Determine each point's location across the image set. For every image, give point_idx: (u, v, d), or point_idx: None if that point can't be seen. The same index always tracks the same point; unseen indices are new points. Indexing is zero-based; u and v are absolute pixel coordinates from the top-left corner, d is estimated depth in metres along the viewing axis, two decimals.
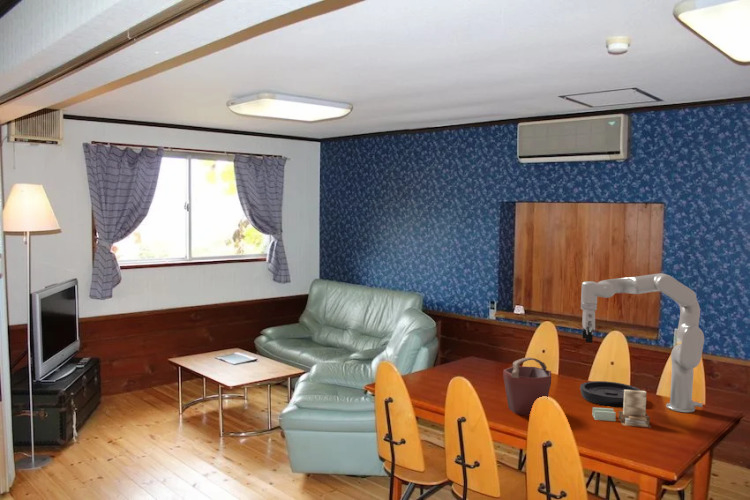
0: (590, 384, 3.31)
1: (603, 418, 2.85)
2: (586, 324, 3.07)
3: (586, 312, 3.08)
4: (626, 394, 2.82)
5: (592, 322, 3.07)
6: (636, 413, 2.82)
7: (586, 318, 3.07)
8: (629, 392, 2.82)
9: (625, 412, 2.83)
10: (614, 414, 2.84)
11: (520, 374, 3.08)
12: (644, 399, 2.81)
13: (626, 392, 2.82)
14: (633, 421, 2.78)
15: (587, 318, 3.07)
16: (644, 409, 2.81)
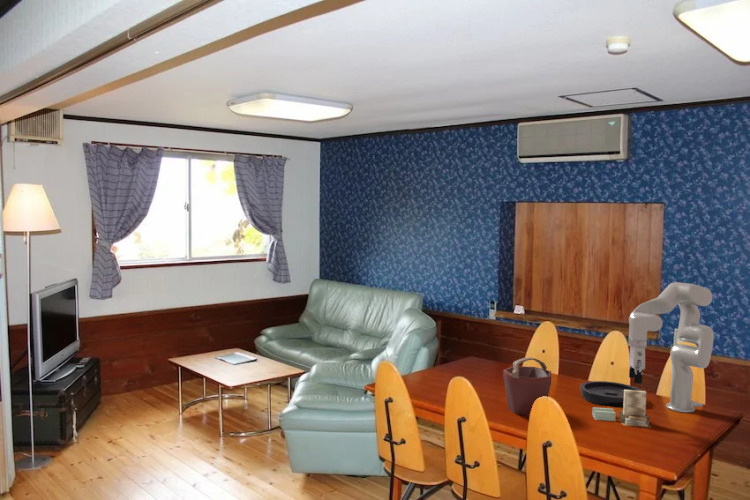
0: (590, 384, 3.31)
1: (603, 418, 2.85)
2: (635, 363, 2.77)
3: (635, 349, 2.78)
4: (626, 394, 2.82)
5: (642, 361, 2.76)
6: (636, 413, 2.82)
7: (635, 356, 2.77)
8: (629, 392, 2.82)
9: (625, 412, 2.83)
10: (614, 414, 2.84)
11: (520, 374, 3.08)
12: (644, 399, 2.81)
13: (626, 392, 2.82)
14: (633, 421, 2.78)
15: (636, 356, 2.77)
16: (644, 409, 2.81)
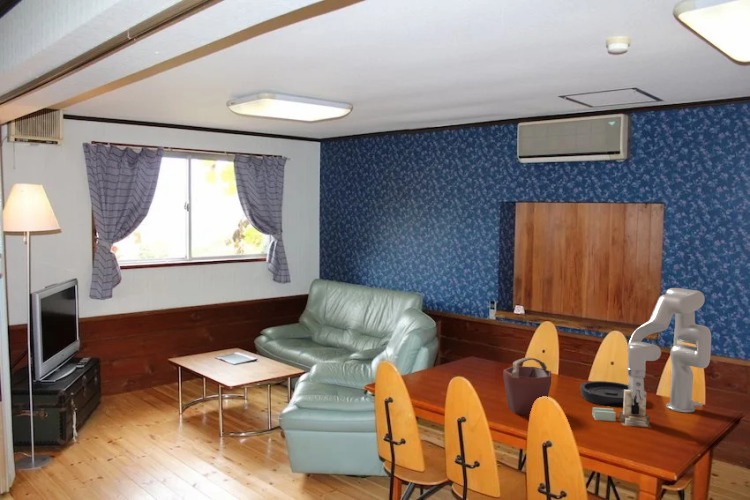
0: (590, 384, 3.31)
1: (603, 418, 2.85)
2: (633, 397, 2.79)
3: (634, 380, 2.78)
4: (626, 394, 2.82)
5: (640, 391, 2.77)
6: None
7: (634, 386, 2.78)
8: (629, 392, 2.82)
9: (625, 412, 2.83)
10: (614, 414, 2.84)
11: (520, 374, 3.08)
12: (644, 399, 2.81)
13: (626, 392, 2.82)
14: (633, 421, 2.78)
15: (635, 386, 2.78)
16: (644, 409, 2.81)
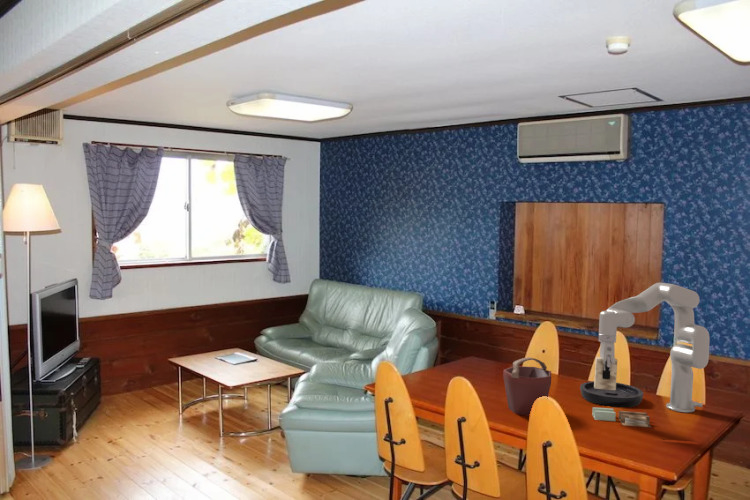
0: (590, 384, 3.31)
1: (603, 418, 2.85)
2: (604, 362, 2.82)
3: (605, 345, 2.82)
4: (597, 361, 2.86)
5: (611, 356, 2.81)
6: (607, 380, 2.86)
7: (605, 351, 2.82)
8: (600, 360, 2.86)
9: (596, 379, 2.86)
10: (614, 414, 2.84)
11: (520, 374, 3.08)
12: (615, 366, 2.85)
13: (597, 360, 2.86)
14: (633, 421, 2.78)
15: (606, 351, 2.82)
16: (615, 376, 2.85)
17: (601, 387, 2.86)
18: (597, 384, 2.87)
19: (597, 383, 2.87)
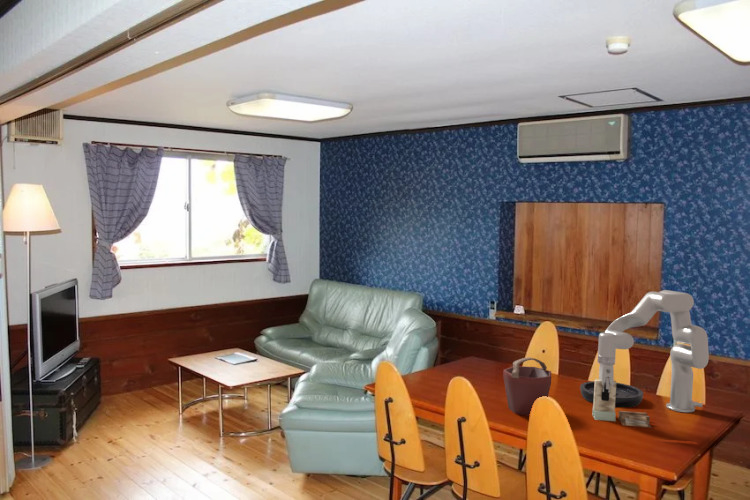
0: (590, 384, 3.31)
1: (603, 418, 2.85)
2: (603, 383, 2.83)
3: (604, 367, 2.83)
4: (596, 384, 2.87)
5: (610, 378, 2.82)
6: (606, 402, 2.86)
7: (604, 373, 2.82)
8: (599, 382, 2.86)
9: (595, 401, 2.87)
10: (614, 414, 2.84)
11: (520, 374, 3.08)
12: (614, 389, 2.85)
13: (596, 382, 2.87)
14: (633, 421, 2.78)
15: (605, 373, 2.82)
16: (614, 399, 2.86)
17: (600, 409, 2.87)
18: (596, 407, 2.87)
19: (596, 405, 2.87)
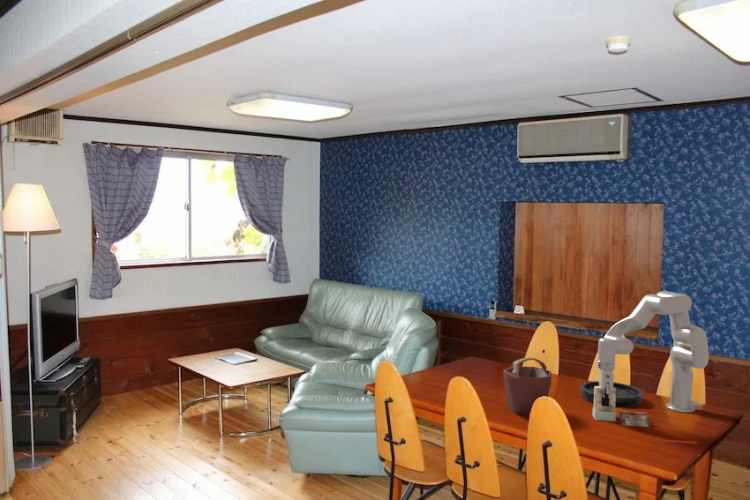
0: (590, 384, 3.31)
1: (603, 418, 2.85)
2: (603, 388, 2.83)
3: (603, 372, 2.83)
4: (596, 390, 2.87)
5: (610, 383, 2.82)
6: (606, 409, 2.87)
7: (603, 379, 2.83)
8: (599, 389, 2.87)
9: (595, 408, 2.87)
10: (614, 414, 2.84)
11: (520, 374, 3.08)
12: (614, 395, 2.86)
13: (596, 389, 2.87)
14: (633, 421, 2.78)
15: (604, 379, 2.82)
16: (614, 405, 2.86)
17: None
18: None
19: None
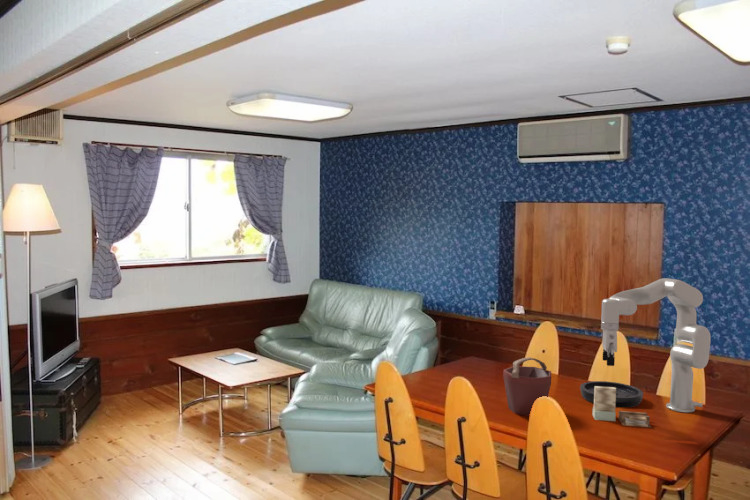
0: (590, 384, 3.31)
1: (603, 418, 2.85)
2: (607, 346, 2.83)
3: (607, 333, 2.83)
4: (596, 390, 2.87)
5: (614, 343, 2.82)
6: (606, 409, 2.87)
7: (607, 339, 2.83)
8: (599, 389, 2.87)
9: (595, 408, 2.87)
10: (614, 414, 2.84)
11: (520, 374, 3.08)
12: (614, 395, 2.86)
13: (596, 389, 2.87)
14: (633, 421, 2.78)
15: (608, 339, 2.82)
16: (614, 405, 2.86)
17: None
18: None
19: None
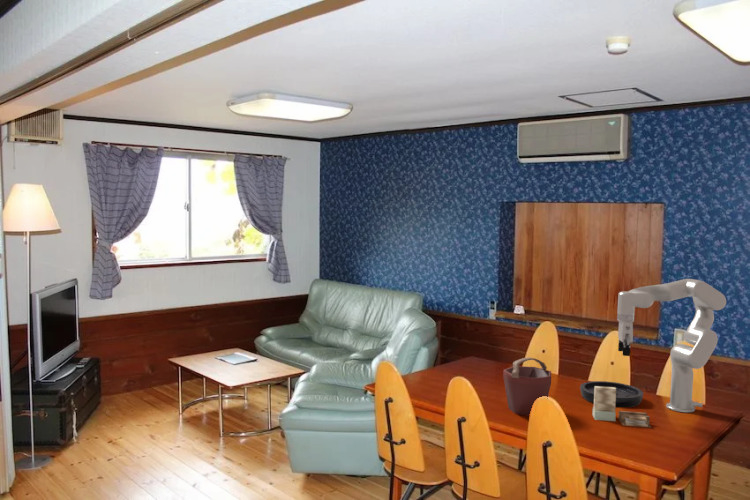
0: (590, 384, 3.31)
1: (603, 418, 2.85)
2: (623, 336, 2.93)
3: (623, 324, 2.94)
4: (596, 390, 2.87)
5: (630, 334, 2.93)
6: (606, 409, 2.87)
7: (623, 330, 2.93)
8: (599, 389, 2.87)
9: (595, 408, 2.87)
10: (614, 414, 2.84)
11: (520, 374, 3.08)
12: (614, 395, 2.86)
13: (596, 389, 2.87)
14: (633, 421, 2.78)
15: (624, 330, 2.93)
16: (614, 405, 2.86)
17: None
18: None
19: None
